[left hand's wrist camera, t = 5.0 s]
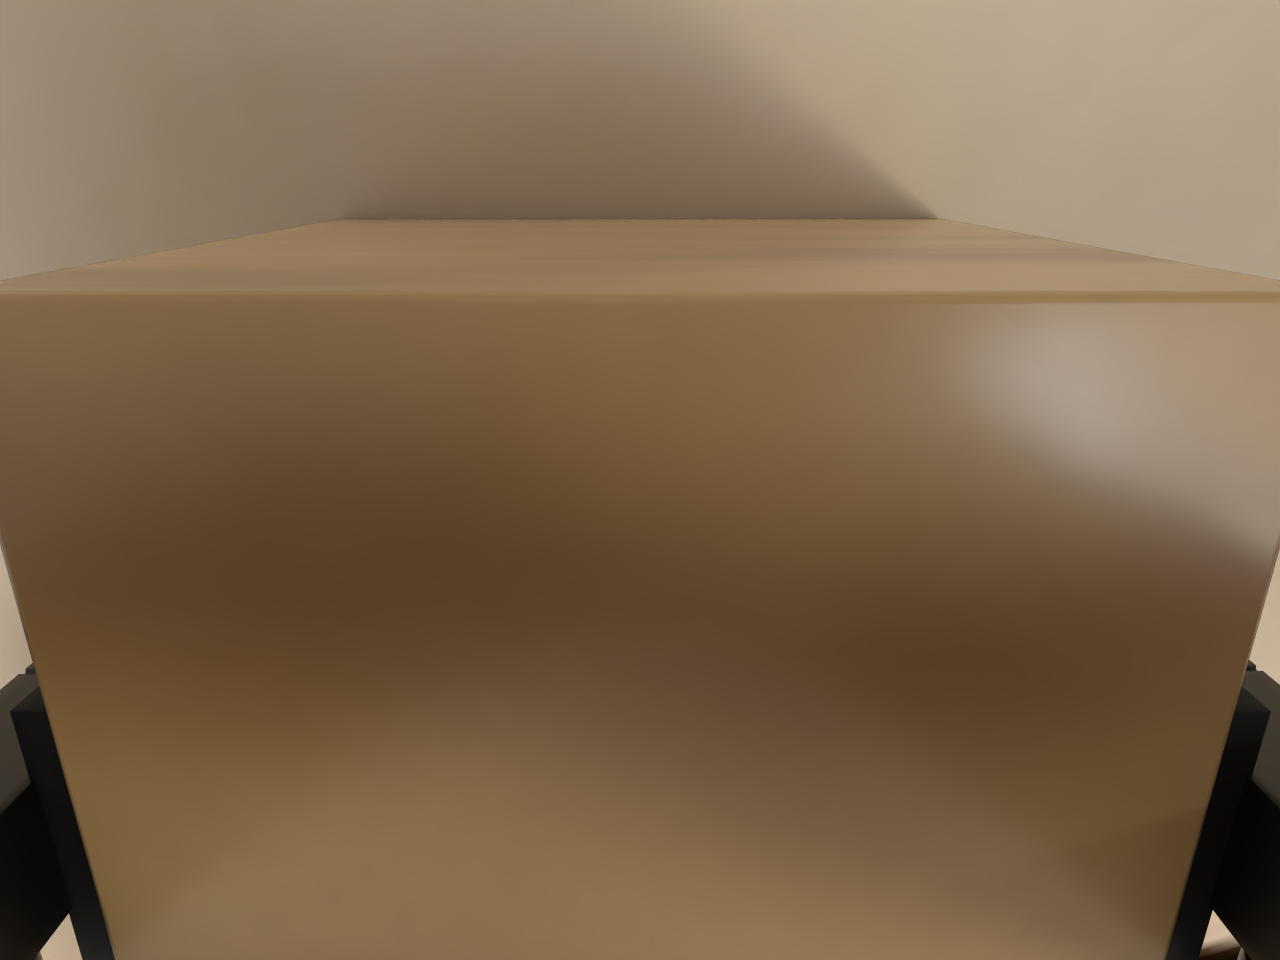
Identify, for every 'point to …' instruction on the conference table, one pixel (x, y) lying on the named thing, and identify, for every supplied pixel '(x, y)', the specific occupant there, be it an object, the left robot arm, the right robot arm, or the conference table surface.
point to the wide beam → (640, 585)
